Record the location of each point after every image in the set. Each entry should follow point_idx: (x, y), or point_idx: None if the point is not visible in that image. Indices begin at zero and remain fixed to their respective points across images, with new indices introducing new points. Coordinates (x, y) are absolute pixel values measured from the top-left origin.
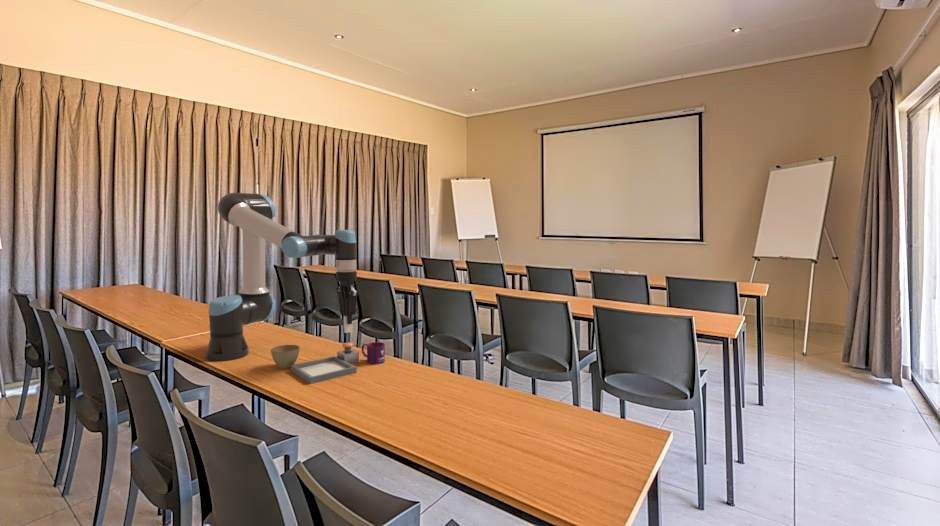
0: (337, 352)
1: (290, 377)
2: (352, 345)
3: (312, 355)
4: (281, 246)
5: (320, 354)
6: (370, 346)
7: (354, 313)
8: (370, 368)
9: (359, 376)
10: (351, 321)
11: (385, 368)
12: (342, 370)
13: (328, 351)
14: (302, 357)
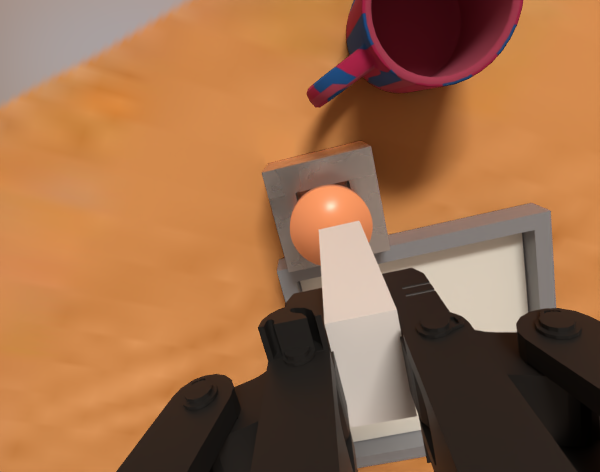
0: (296, 269)
1: (413, 461)
2: (359, 196)
3: (122, 336)
4: None
5: (118, 298)
6: (477, 71)
7: (584, 330)
8: (512, 110)
9: (597, 205)
10: (430, 288)
11: (571, 20)
12: (554, 291)
13: (71, 248)
14: (140, 381)
